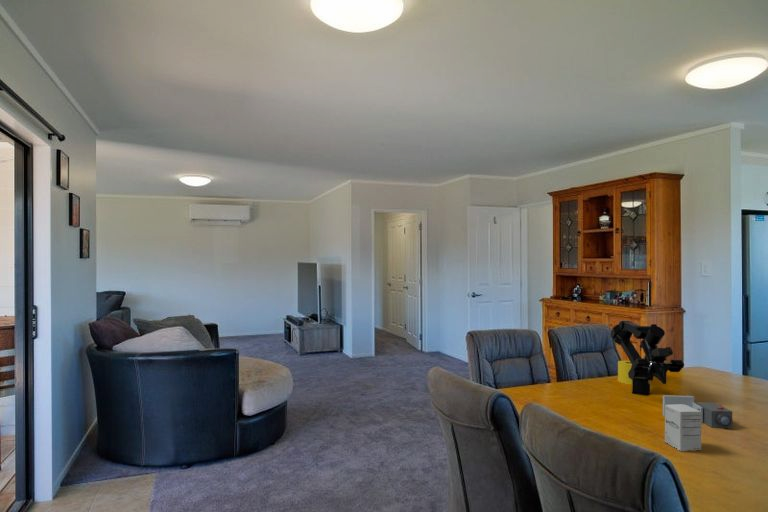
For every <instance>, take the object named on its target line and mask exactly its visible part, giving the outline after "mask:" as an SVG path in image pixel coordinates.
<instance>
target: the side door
mask: <svg viewBox="0 0 768 512" xmlns="http://www.w3.org/2000/svg"><path fill="white" fill-rule="evenodd" d="M672 404H685V405H687V406H690V407H692V408H694V409H696V410H699V411H701V424H702V423H703V407H701V406H699V405H697V404H695V396H693V395H669V394H668V395H665V394H663V395H662V416H663V417H664V418H665V405H672ZM703 424H704V423H703Z"/></svg>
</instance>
